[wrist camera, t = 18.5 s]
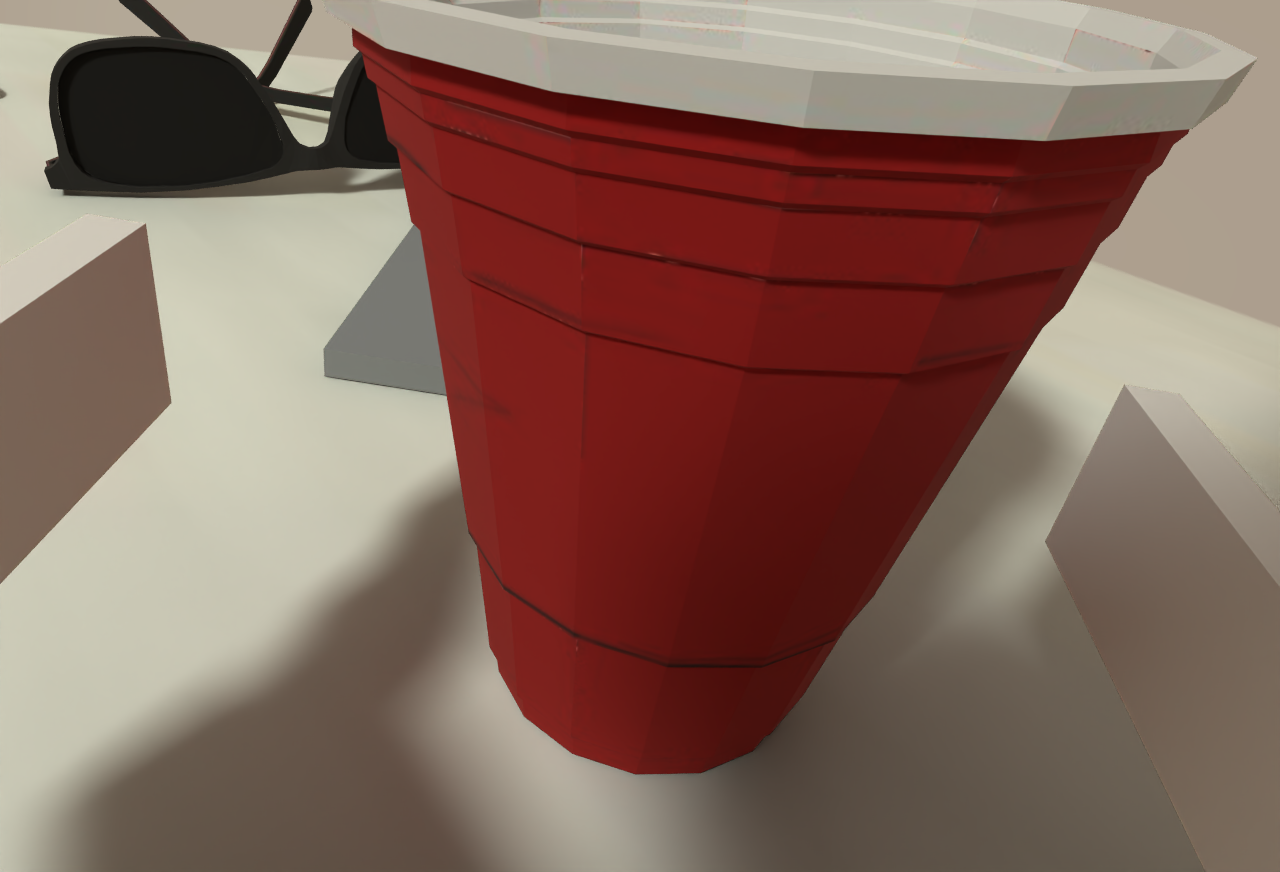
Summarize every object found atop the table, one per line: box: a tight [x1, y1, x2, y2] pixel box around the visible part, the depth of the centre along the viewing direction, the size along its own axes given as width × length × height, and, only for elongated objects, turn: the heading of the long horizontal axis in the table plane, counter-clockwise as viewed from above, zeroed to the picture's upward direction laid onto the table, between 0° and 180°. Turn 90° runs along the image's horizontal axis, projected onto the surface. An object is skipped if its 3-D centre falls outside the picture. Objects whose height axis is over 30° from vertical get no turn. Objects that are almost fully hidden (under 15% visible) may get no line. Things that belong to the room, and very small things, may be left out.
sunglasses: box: [44, 0, 401, 192], centre depth 37 cm, size 17×14×5 cm
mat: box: [324, 225, 447, 395], centre depth 33 cm, size 16×20×1 cm
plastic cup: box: [322, 0, 1258, 774], centre depth 15 cm, size 11×11×12 cm
